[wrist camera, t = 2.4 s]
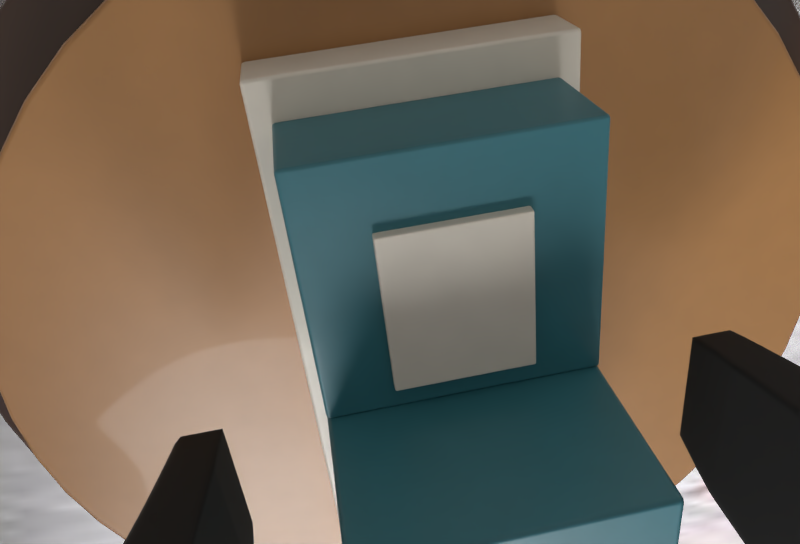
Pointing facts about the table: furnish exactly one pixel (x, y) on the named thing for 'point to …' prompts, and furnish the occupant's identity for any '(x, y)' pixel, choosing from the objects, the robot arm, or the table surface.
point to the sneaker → (396, 256)
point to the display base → (73, 3)
